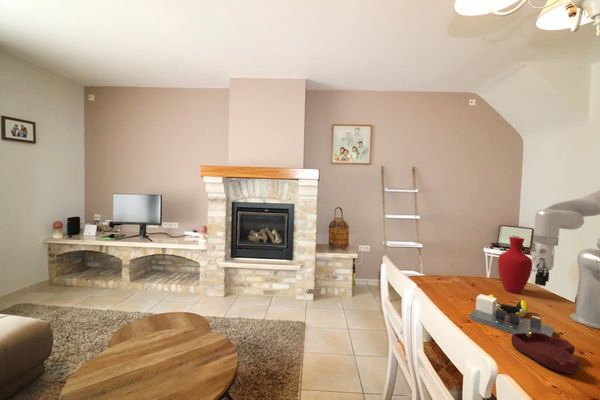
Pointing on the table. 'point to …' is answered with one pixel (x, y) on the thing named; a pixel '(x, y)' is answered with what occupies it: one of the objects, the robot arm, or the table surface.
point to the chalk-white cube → (486, 304)
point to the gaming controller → (513, 307)
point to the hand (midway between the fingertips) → (541, 282)
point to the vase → (514, 267)
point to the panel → (506, 325)
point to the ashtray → (547, 351)
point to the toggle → (535, 321)
